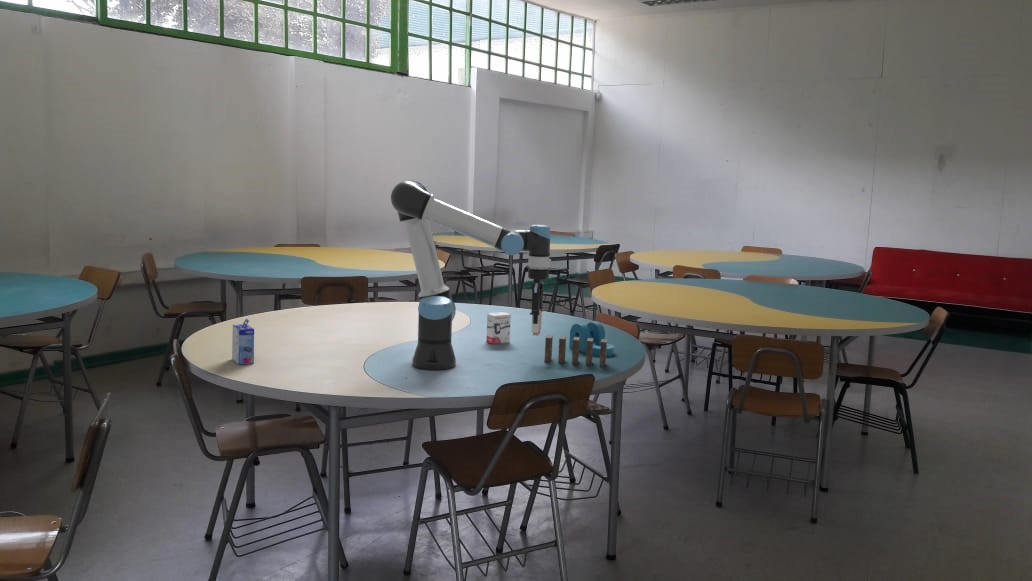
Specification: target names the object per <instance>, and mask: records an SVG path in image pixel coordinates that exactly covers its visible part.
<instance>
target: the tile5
mask: <svg viewBox="0 0 1032 581" xmlns="http://www.w3.org/2000/svg"><path fill="white" fill-rule="evenodd" d="M592 354H593V338H588V339H587V349H586V353H585V366H592V364H593V355H592Z"/></svg>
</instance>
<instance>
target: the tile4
mask: <svg viewBox="0 0 1032 581" xmlns="http://www.w3.org/2000/svg"><path fill="white" fill-rule="evenodd" d="M579 342H580V337H574V339H573V349H572V350H571V351H572V355H571V365H578V363H579V359H580V356H579V355H580V351H579Z"/></svg>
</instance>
